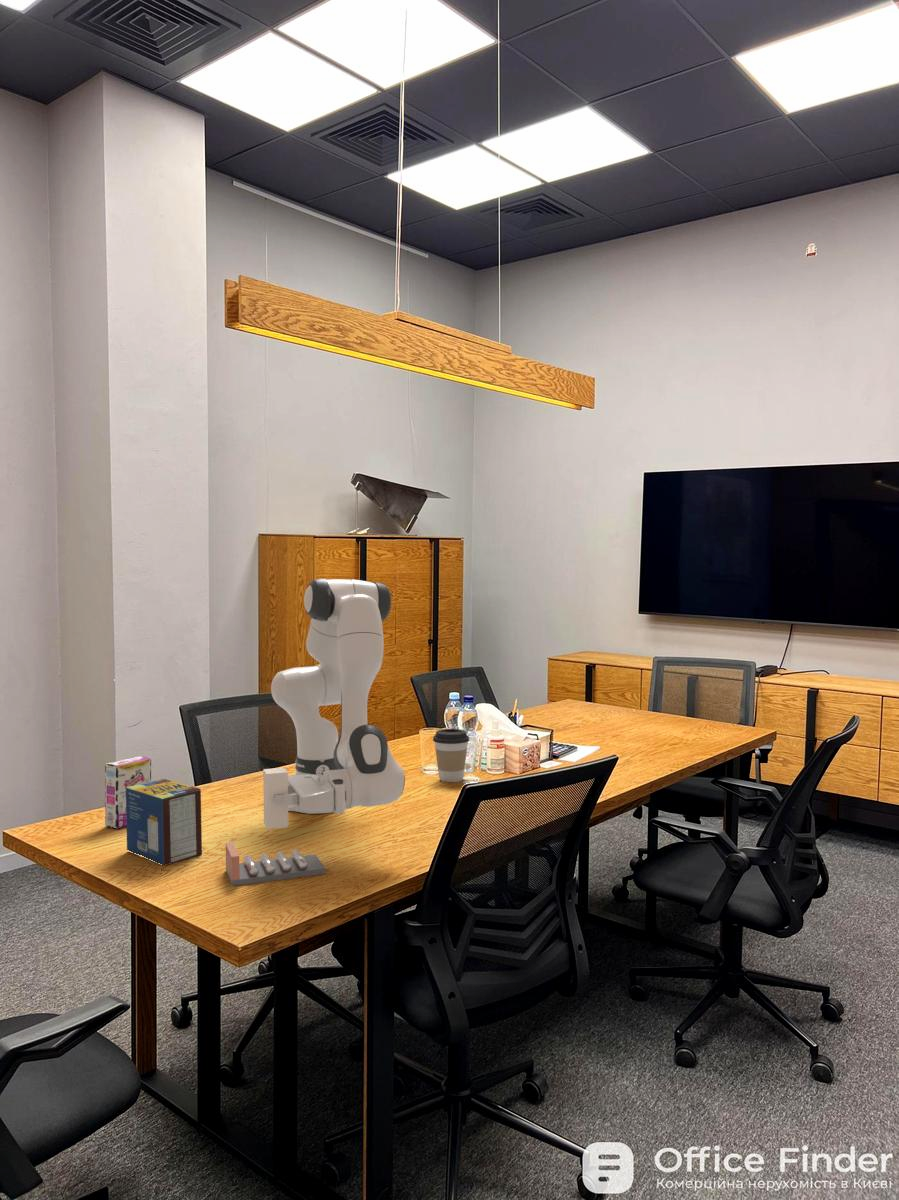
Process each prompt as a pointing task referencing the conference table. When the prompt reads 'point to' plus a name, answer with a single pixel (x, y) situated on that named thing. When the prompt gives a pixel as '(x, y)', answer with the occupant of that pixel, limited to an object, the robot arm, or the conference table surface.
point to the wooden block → (273, 784)
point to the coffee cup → (451, 753)
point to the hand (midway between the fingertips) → (271, 795)
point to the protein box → (164, 821)
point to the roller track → (279, 871)
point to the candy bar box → (123, 786)
